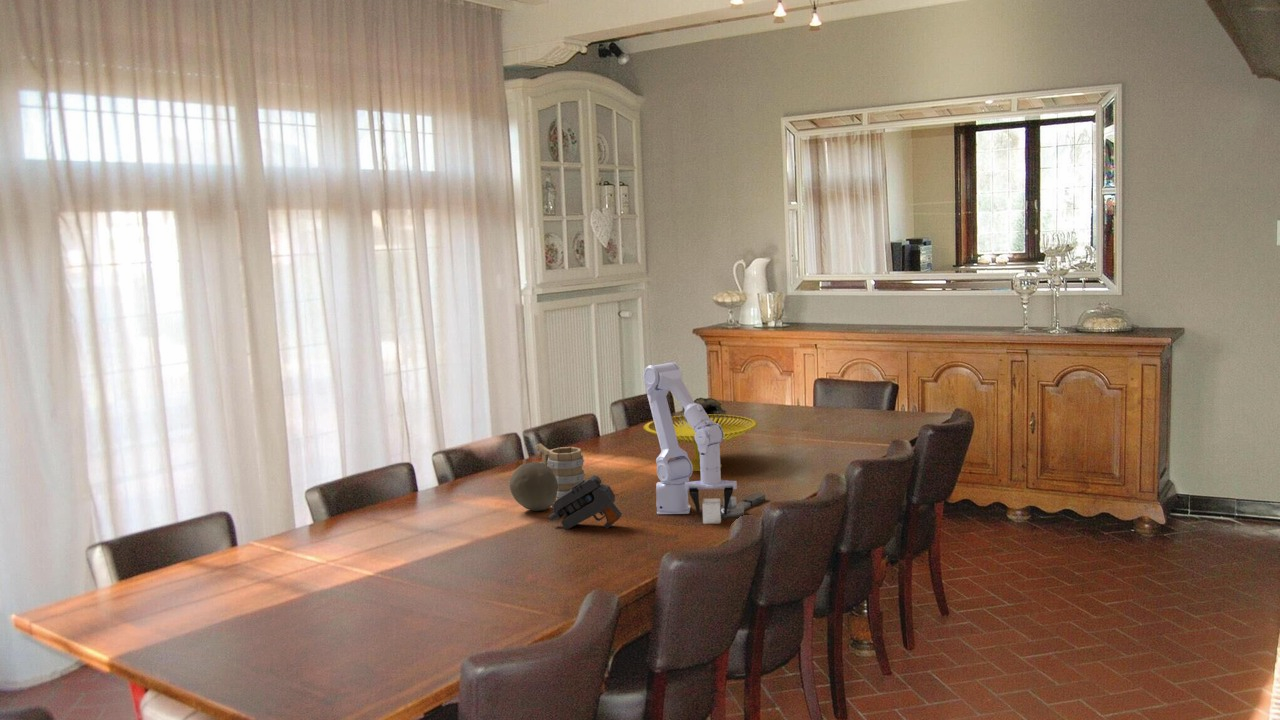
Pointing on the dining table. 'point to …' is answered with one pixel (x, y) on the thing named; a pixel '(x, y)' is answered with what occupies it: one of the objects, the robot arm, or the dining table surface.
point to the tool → (586, 503)
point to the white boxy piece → (711, 510)
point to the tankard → (564, 466)
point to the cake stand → (688, 433)
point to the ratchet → (741, 505)
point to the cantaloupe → (534, 486)
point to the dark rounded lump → (707, 408)
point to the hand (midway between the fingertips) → (712, 513)
